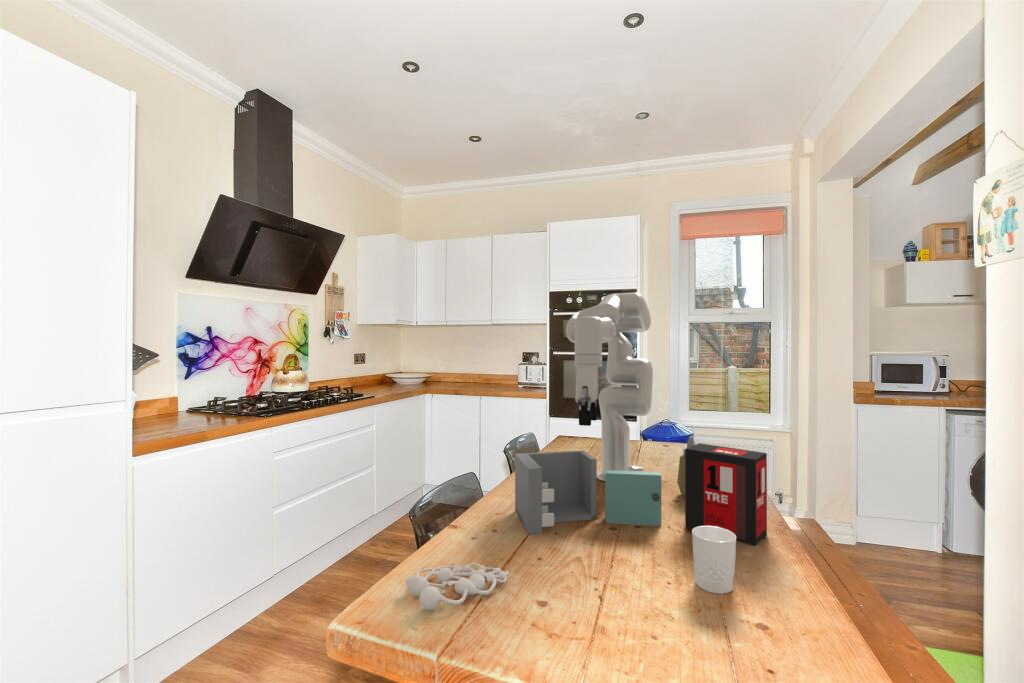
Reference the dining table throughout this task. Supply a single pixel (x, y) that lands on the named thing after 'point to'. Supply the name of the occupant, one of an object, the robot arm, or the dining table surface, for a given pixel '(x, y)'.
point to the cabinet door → (633, 497)
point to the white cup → (714, 558)
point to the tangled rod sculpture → (463, 586)
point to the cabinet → (555, 488)
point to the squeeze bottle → (683, 468)
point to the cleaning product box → (727, 490)
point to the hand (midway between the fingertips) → (588, 422)
